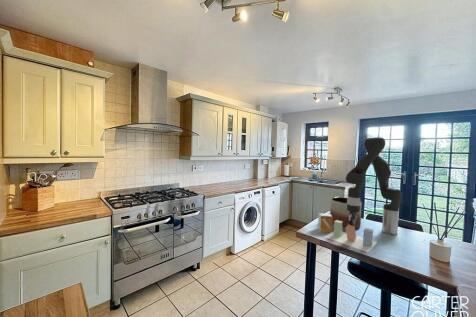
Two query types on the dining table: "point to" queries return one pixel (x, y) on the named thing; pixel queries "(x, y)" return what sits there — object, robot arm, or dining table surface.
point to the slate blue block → (367, 237)
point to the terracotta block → (350, 233)
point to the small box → (325, 222)
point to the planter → (342, 211)
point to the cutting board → (356, 244)
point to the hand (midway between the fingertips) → (352, 229)
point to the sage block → (338, 228)
